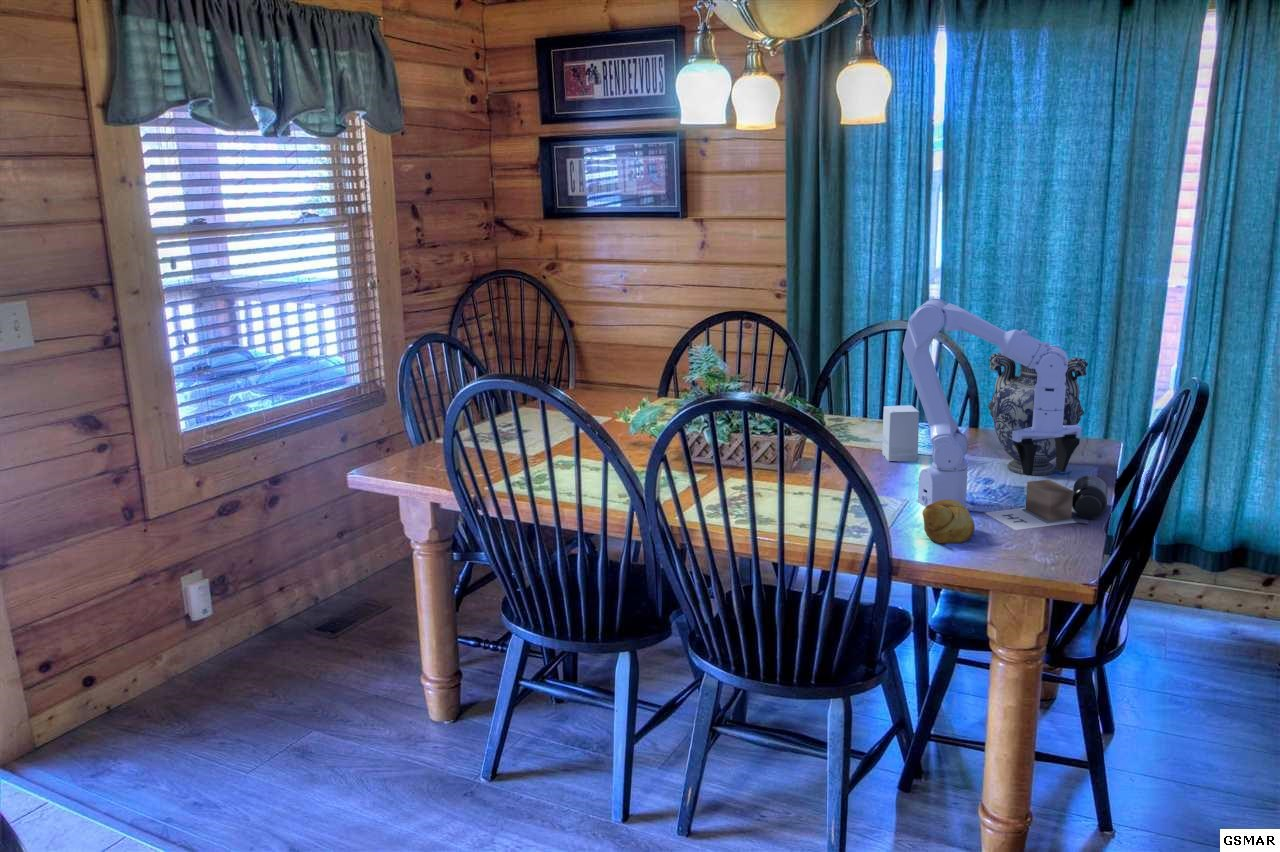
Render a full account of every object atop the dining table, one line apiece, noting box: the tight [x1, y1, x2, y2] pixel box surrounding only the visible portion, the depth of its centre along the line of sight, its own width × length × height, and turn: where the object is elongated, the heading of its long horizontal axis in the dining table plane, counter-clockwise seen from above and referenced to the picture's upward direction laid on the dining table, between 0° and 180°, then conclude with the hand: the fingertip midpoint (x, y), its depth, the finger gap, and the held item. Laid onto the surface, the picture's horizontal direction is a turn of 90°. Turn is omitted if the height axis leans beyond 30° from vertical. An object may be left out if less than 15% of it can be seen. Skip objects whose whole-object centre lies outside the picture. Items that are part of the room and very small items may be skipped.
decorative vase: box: [987, 352, 1089, 476], centre depth 240 cm, size 21×19×28 cm
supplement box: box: [881, 404, 920, 462], centre depth 255 cm, size 7×7×13 cm
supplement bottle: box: [1072, 474, 1109, 519], centre depth 211 cm, size 7×7×12 cm
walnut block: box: [1025, 478, 1073, 522], centre depth 210 cm, size 5×8×6 cm, turn 14°
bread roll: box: [922, 499, 976, 545], centre depth 202 cm, size 13×10×8 cm
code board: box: [984, 507, 1077, 531], centre depth 210 cm, size 14×11×1 cm
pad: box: [1022, 509, 1075, 524], centre depth 211 cm, size 6×9×1 cm
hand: (1043, 472), depth 210 cm, fingers open, 7 cm apart
